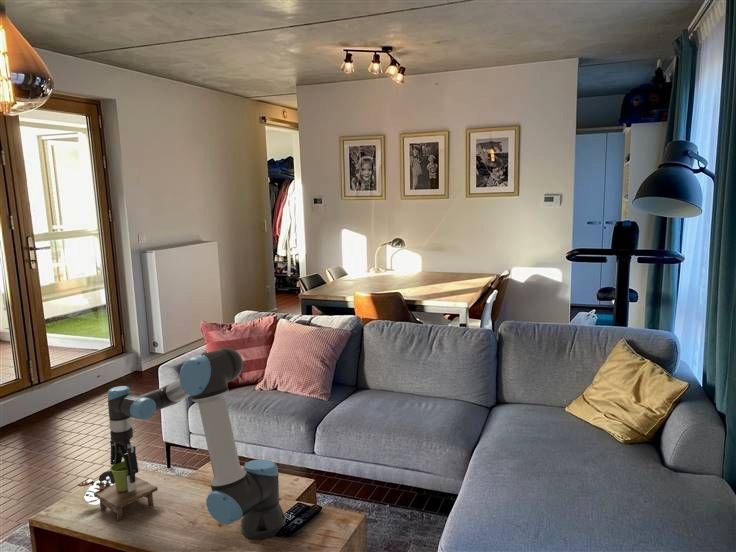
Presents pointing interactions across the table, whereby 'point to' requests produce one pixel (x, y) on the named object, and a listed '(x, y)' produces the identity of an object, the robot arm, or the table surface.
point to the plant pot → (120, 475)
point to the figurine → (97, 487)
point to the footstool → (124, 496)
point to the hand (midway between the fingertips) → (125, 487)
